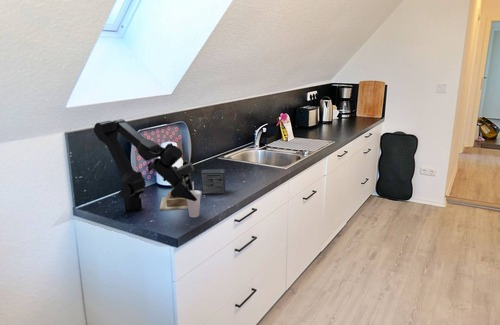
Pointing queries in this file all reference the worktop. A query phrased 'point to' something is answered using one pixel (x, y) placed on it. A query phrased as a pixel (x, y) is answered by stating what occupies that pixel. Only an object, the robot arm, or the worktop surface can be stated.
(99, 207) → the worktop surface
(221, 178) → the small box
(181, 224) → the worktop surface
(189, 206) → the smoothie
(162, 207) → the bottle stand
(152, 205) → the worktop surface
